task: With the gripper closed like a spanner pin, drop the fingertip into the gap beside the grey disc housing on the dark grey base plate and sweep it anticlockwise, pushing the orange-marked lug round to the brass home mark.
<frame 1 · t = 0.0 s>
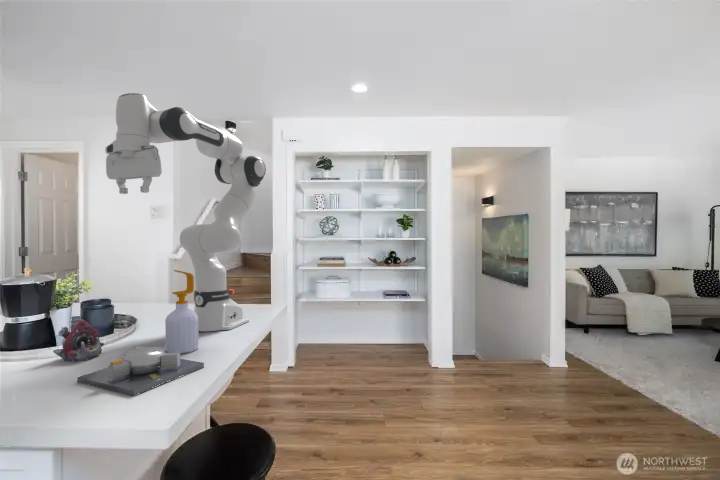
hand: (134, 193, 119), 48 cm above the counter, fingers open, 8 cm apart
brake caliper: (80, 358, 112), on the counter
base plate: (143, 374, 99), on the counter
grey disc housing: (137, 362, 97), point 4 cm above the counter, hinge at 0.0°
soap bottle: (182, 350, 119), on the counter
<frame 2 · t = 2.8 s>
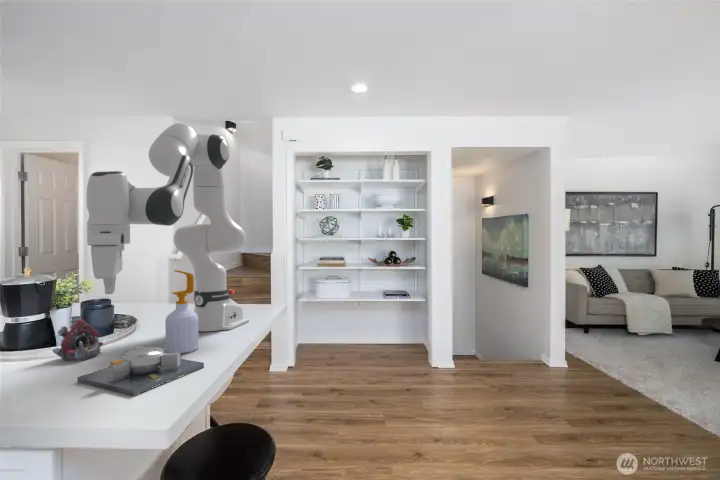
hand: (110, 293, 95), 21 cm above the counter, fingers closed
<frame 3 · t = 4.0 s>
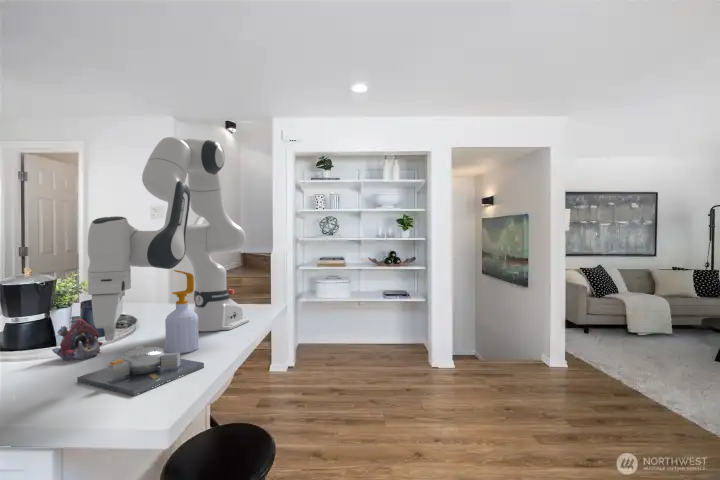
hand: (110, 339, 95), 10 cm above the counter, fingers closed
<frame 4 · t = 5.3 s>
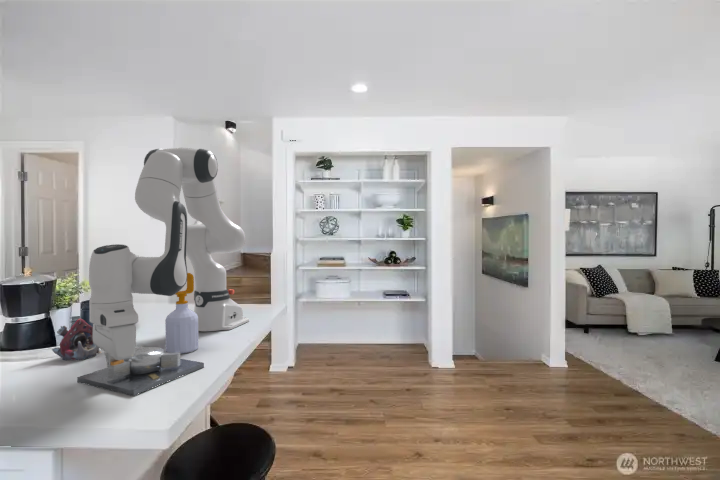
hand: (112, 369, 94), 3 cm above the counter, fingers closed
grey disc housing: (137, 362, 97), point 4 cm above the counter, hinge at 1.2°, touching gripper
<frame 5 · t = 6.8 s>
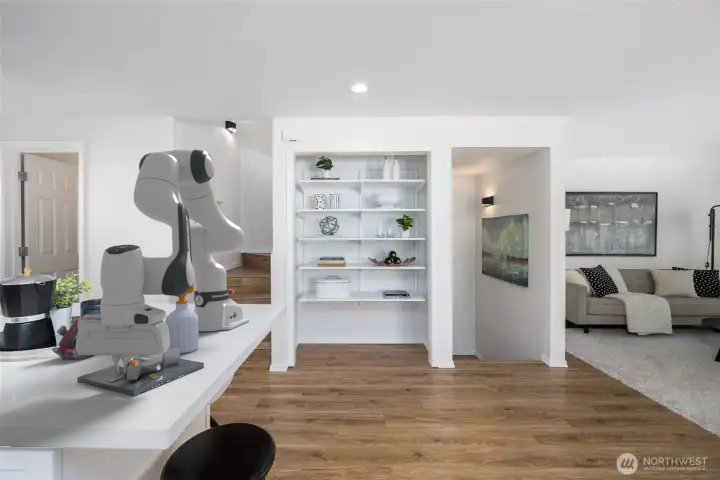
hand: (123, 372, 92), 3 cm above the counter, fingers closed
grey disc housing: (141, 362, 97), point 4 cm above the counter, hinge at 36.1°, touching gripper
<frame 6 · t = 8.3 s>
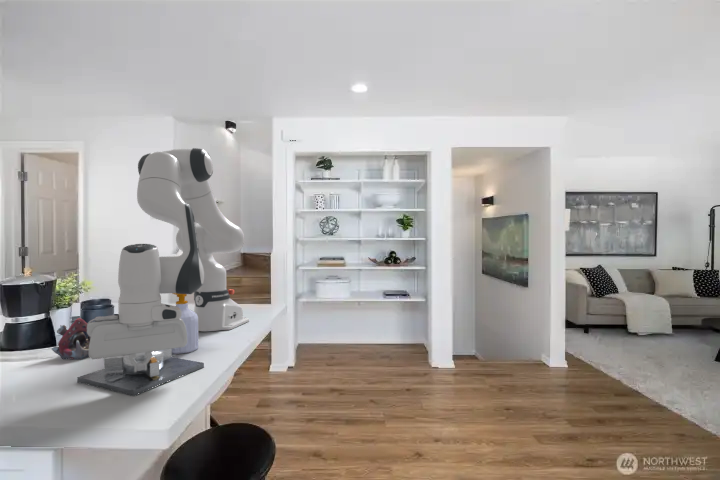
hand: (140, 371, 92), 3 cm above the counter, fingers closed
grey disc housing: (145, 361, 98), point 4 cm above the counter, hinge at 68.4°, touching gripper
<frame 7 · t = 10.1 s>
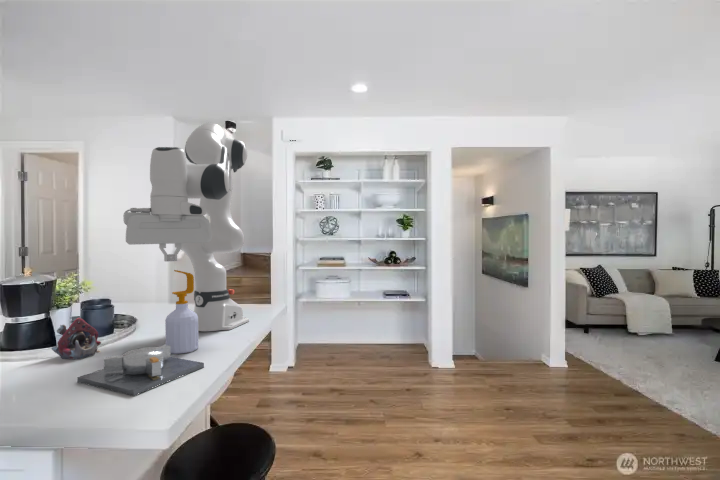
hand: (170, 261, 102), 28 cm above the counter, fingers closed
grey disc housing: (146, 361, 98), point 4 cm above the counter, hinge at 71.2°
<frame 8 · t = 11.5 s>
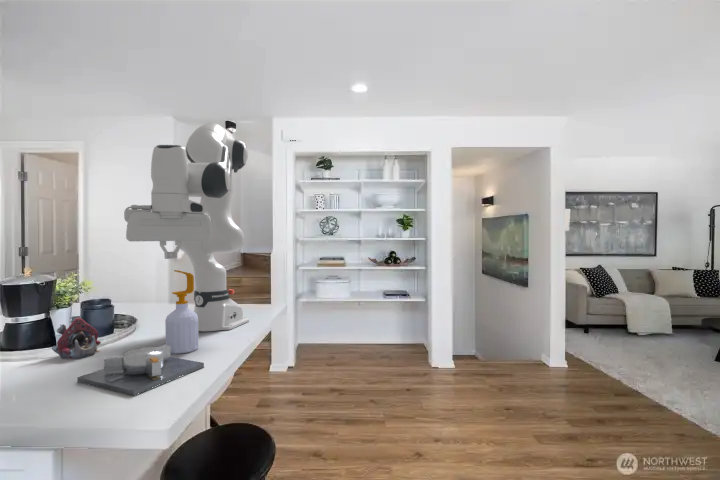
hand: (170, 258, 102), 29 cm above the counter, fingers closed
at the end: grey disc housing at +71° (first picture: +0°); grey disc housing touching nothing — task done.
